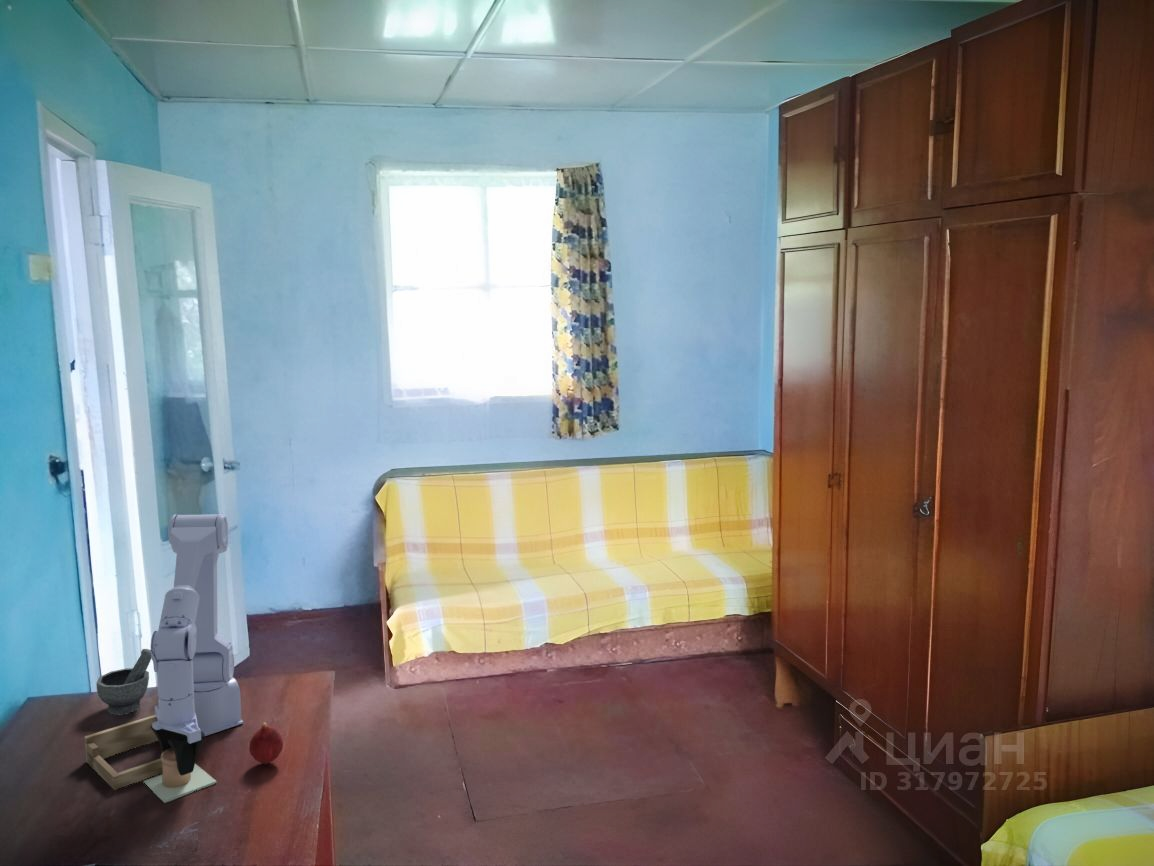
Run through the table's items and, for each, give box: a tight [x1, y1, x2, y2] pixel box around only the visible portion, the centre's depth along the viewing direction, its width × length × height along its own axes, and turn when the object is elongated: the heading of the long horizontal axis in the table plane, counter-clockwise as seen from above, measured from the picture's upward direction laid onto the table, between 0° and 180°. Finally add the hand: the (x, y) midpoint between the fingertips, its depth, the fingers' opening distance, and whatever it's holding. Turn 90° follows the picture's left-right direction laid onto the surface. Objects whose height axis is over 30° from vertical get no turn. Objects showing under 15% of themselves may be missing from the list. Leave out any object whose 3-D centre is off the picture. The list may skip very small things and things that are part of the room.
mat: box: [143, 763, 217, 804], centre depth 155 cm, size 9×9×1 cm
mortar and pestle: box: [95, 648, 152, 716], centre depth 184 cm, size 11×9×12 cm
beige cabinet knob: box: [160, 748, 191, 787], centre depth 155 cm, size 5×5×5 cm
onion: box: [249, 722, 284, 765], centre depth 162 cm, size 6×6×8 cm
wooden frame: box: [84, 714, 162, 791], centre depth 162 cm, size 14×14×5 cm
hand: (179, 766), depth 155 cm, fingers open, 5 cm apart
